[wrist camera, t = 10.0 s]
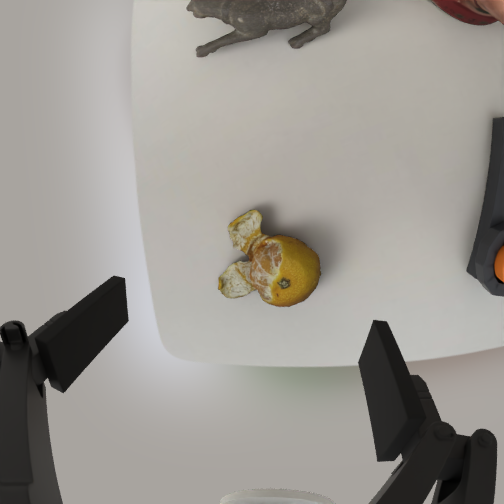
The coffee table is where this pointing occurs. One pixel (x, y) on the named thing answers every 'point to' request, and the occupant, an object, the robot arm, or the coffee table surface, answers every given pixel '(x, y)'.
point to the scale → (491, 218)
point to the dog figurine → (265, 18)
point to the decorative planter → (474, 10)
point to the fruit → (269, 265)
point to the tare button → (499, 264)
